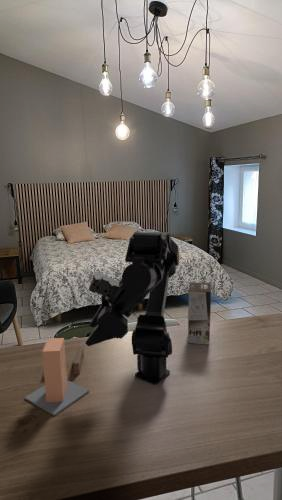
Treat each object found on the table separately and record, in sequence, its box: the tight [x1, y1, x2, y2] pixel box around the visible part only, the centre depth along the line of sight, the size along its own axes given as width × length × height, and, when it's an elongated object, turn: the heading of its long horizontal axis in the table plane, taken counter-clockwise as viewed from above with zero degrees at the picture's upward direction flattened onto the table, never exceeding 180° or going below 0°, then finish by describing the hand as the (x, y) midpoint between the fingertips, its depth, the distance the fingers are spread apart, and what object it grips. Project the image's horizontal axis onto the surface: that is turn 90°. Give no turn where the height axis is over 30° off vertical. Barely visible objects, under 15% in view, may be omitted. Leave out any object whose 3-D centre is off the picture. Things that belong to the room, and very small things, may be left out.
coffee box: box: [187, 282, 212, 345], centre depth 104 cm, size 9×6×16 cm
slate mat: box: [24, 379, 90, 417], centre depth 78 cm, size 10×10×1 cm
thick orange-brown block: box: [41, 337, 68, 402], centre depth 77 cm, size 4×6×12 cm, turn 3°
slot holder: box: [72, 345, 85, 375], centre depth 90 cm, size 8×9×3 cm
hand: (89, 334), depth 77 cm, fingers open, 9 cm apart
